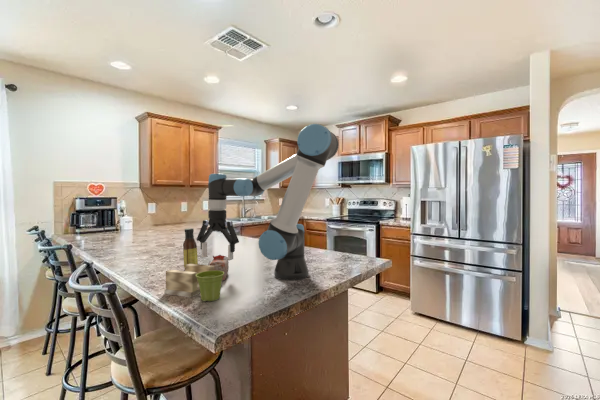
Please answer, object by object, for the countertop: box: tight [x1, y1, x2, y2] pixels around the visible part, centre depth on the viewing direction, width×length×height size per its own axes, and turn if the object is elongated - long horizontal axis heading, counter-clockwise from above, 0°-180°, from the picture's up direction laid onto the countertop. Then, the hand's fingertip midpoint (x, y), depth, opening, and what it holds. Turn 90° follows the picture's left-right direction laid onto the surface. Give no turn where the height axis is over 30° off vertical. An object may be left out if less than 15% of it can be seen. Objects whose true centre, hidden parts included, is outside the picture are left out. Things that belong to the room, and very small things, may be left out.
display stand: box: [163, 264, 214, 298], centre depth 110 cm, size 12×14×8 cm
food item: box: [207, 254, 230, 282], centre depth 126 cm, size 14×8×10 cm, turn 9°
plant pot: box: [196, 270, 224, 302], centre depth 100 cm, size 9×9×9 cm
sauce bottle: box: [182, 227, 199, 268], centre depth 140 cm, size 7×6×20 cm
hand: (217, 258), depth 126 cm, fingers open, 13 cm apart
